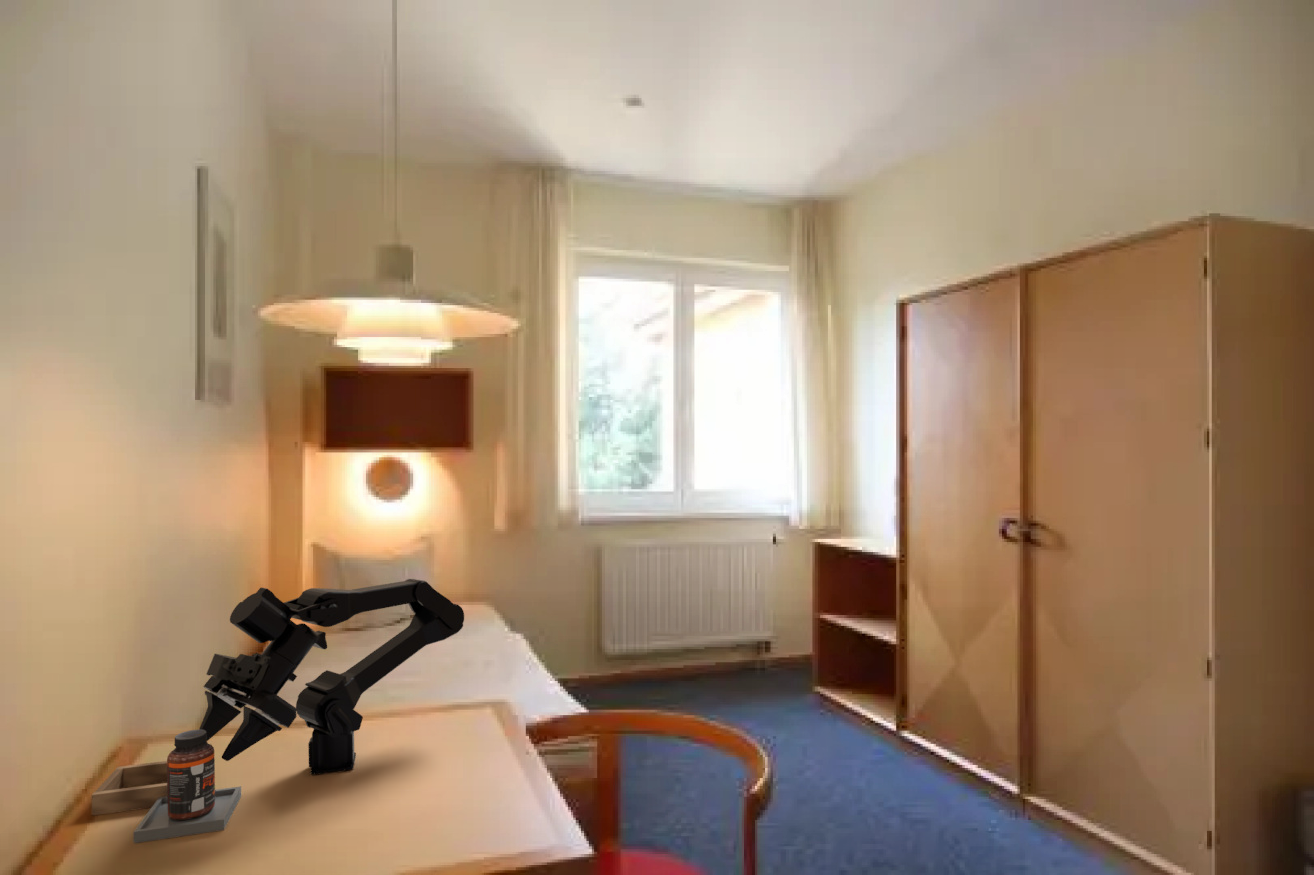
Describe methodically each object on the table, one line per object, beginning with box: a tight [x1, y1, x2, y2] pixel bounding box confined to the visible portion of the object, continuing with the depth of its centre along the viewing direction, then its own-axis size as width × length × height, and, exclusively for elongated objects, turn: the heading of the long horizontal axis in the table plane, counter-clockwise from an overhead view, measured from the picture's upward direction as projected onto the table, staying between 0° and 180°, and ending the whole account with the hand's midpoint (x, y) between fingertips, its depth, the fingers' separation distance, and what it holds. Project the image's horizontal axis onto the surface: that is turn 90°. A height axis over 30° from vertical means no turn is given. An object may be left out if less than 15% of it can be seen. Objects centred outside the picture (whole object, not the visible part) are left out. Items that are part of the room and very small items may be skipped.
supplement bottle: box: [166, 729, 216, 820], centre depth 113 cm, size 6×6×11 cm
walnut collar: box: [91, 760, 168, 816], centre depth 120 cm, size 10×10×3 cm
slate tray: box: [132, 785, 242, 844], centre depth 112 cm, size 11×11×2 cm
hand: (209, 752), depth 115 cm, fingers open, 9 cm apart
